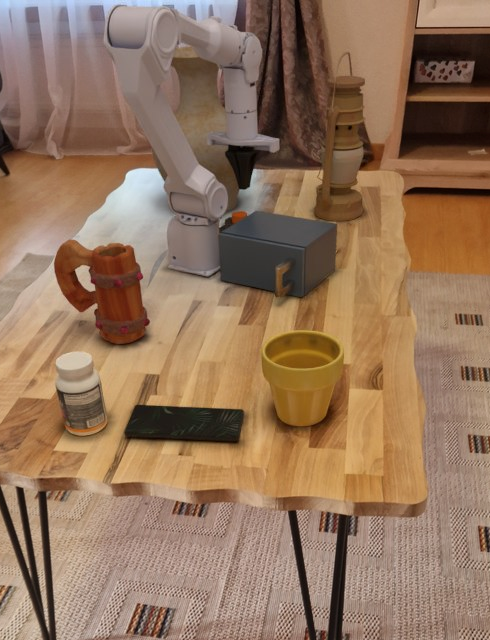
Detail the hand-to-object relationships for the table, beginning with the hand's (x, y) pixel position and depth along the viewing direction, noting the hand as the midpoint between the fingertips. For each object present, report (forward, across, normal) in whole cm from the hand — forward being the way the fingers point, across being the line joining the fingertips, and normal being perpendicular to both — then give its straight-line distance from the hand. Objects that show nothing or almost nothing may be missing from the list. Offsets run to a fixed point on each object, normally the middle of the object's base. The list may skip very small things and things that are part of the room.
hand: (244, 188), depth 140 cm
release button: (+8, +3, -2) cm, 9 cm away
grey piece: (+10, -14, +21) cm, 27 cm away
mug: (+10, -1, +45) cm, 46 cm away
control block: (+10, +3, -2) cm, 11 cm away
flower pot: (+10, -39, +51) cm, 65 cm away
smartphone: (+9, -26, +61) cm, 67 cm away
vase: (+11, +20, -15) cm, 27 cm away
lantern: (+11, -10, -23) cm, 27 cm away
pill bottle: (+9, -14, +67) cm, 69 cm away
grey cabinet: (+10, -14, +12) cm, 21 cm away
